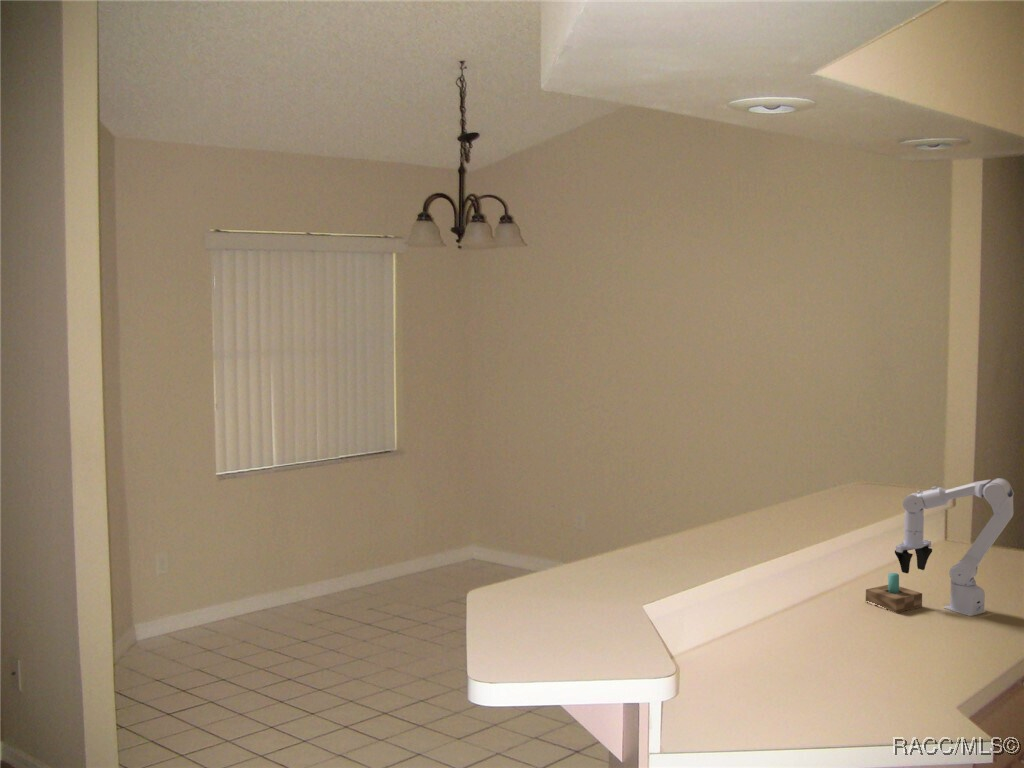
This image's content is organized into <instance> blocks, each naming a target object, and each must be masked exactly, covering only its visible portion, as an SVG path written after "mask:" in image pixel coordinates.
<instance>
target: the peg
mask: <svg viewBox="0 0 1024 768" xmlns="http://www.w3.org/2000/svg"><path fill="white" fill-rule="evenodd" d="M887 576H888V578H887V579H888V583H887V585H888V587H889V593H892V594H898V593H899V586H900V574H899V573H896V572H890V573H889V572H888V574H887Z"/></svg>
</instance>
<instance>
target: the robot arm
mask: <svg viewBox="0 0 1024 768" xmlns="http://www.w3.org/2000/svg"><path fill="white" fill-rule="evenodd" d="M1014 495H1015V492H1014V490H1013V488H1012V486H1011V483H1010V482H1009V481H1008V480H1007V479H1005V478H1001V477H1000V478H999V477H998V478H994V479H985V480H978V481H973V482H971V483H966V484H963V485H960V486H957V487H951V488H949V489H946V488H944V487H941V486H940V487H938V486H936V485H935V486H932V487H931V489H927V490H924V491H922V490H917V492H913V493H910V494H909V495H907V496H905V497H904V498H903V501H902V507H903V508H904V527H903V528H904V531H903V532H904V533H903V534H904V536H903V537H904V538H903V540H901V543H900V544H898V545H895V549H894V554H895V556H896V557H897V560H898V561H899V565H900V570H901V572H902V573H903V574H909V572H910V566H911V565H910V564H911V561H912V557H913V553H910V552H909V551H913V550H914V552H915V556H916V566H917V569H918V570H922V571H925V570H926V569H925V568H926V565H927V563H928V560H929V557H930V556H931V554H932V553H933V548H931V547H932V540H928V539H927V540H926V539H925V540H924V528H925V527H924V525H925V523H924V522H925V521H924V519H925V518H924V510H929V509H933V508H937V507H941V506H946V505H947V504H948V503H949V501H950V500H953V499H954V500H955V499H960V498H965V497H968V496H976V497H978V498H980V499H982V498H984V499H985V500H986V501H987V503H988V504H989V505H990V507H991V509H992V512H993V514H992V516H991V517H990V519H989V521H988V522H987V523H986V525H985V526H984V527H983V529H981V532H980V533H979V534H978V536H977V537H976V538H975V540H974V542H972V545H971V546H969V547H970V548H969V549H968V550H967V551H966V553H965V554H964V556H963V557H962V558H961V559H959V560H958V561H957V563H956V564H954V565H952V566H951V568H950V569H949V574H948V575H949V578H950V597H949V598H950V599H949V600H950V602H949V605H946V606H945V605H944V606H943V608H944V609H946V610H949V611H953V612H955V613H959V614H961V615H964V616H968V617H972V616H973V617H974V616H976V615H980V614H981V615H982V614H983V613H984V614H985V613H987V611H986V610H985V597H986V595H985V590H984V589H983V587H981V586H978V584H977V581H976V579H975V577H976V576H977V573H978V569H979V566H980V564H981V562H982V560H983V559H984V557H985V555H986V554H987V553H988V551H989V550H990V549H991V547H992V546H993V545H994V543H995V542H996V540H997V539H998V537H999V536H1000V534H1002V532H1003V531H1004V529H1005V528H1006V526H1007V525H1008V524H1009V522H1010V521H1011V519H1012V518H1013V516H1014Z"/></svg>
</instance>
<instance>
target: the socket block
mask: <svg viewBox="0 0 1024 768" xmlns="http://www.w3.org/2000/svg"><path fill="white" fill-rule="evenodd" d="M866 601H869V602H872V603H875V604H877V605H880V606H882V607H884V608H886V609H888V610H891V611H894V612H896V613H895V614H898V613H897V612H899V613H902V612H901V611H903V612H906V611H905V610H908V611H910V610H909V609H912V610H915V609H914V608H916V609H920V608H922V607H923V593H922V592H918V591H915V590H912V589H909V588H906V587H904V586H900V585H899V593H898V594H892V593H889V587H888V584H885V585H880V586H876V587H871V588H867V589H865V602H866ZM919 607H920V608H919ZM888 610H887V611H888ZM891 611H890V612H891ZM894 612H893V613H894Z"/></svg>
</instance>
